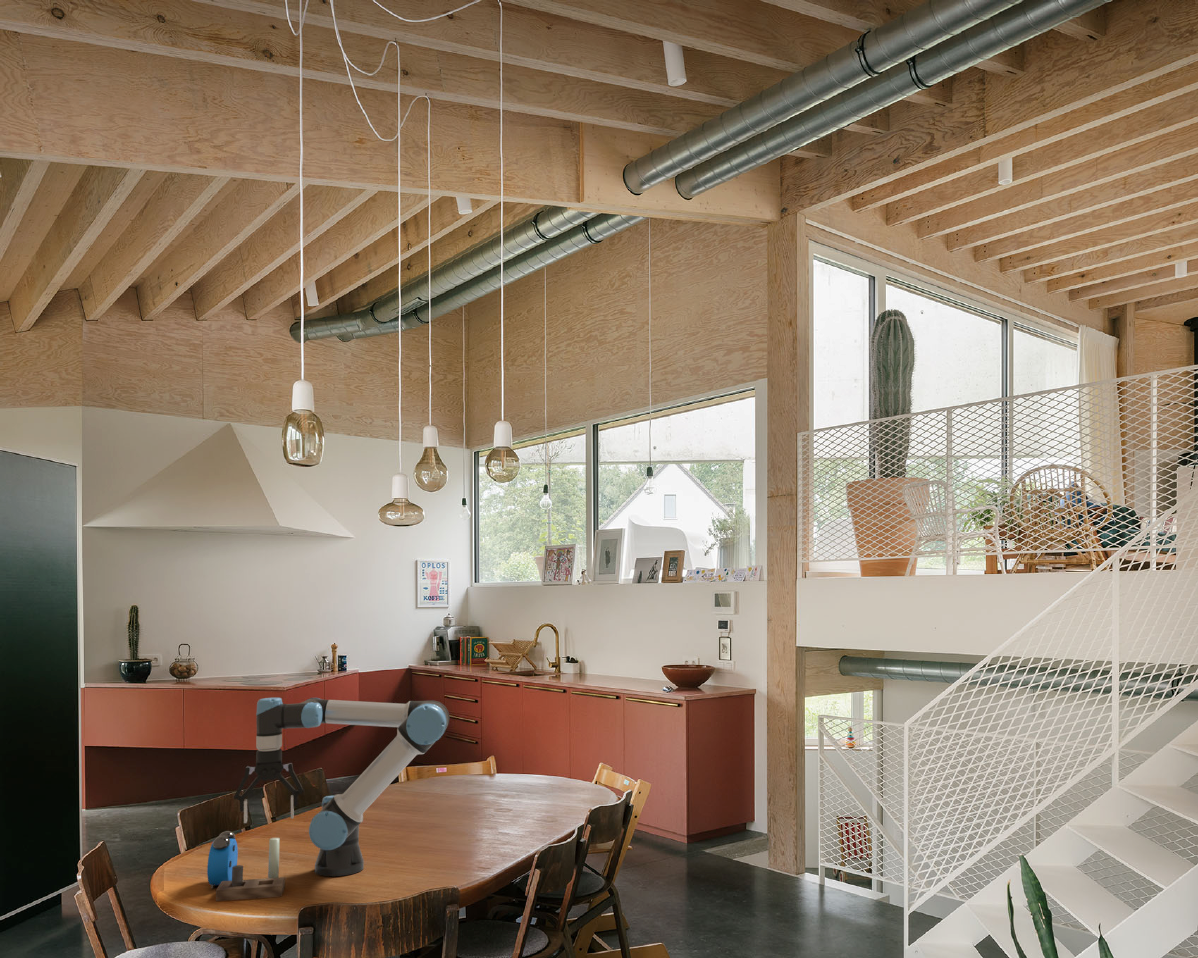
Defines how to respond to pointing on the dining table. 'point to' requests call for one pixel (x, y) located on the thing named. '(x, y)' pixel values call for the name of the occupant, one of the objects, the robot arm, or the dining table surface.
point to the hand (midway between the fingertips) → (269, 819)
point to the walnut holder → (249, 887)
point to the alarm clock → (222, 858)
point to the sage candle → (273, 858)
